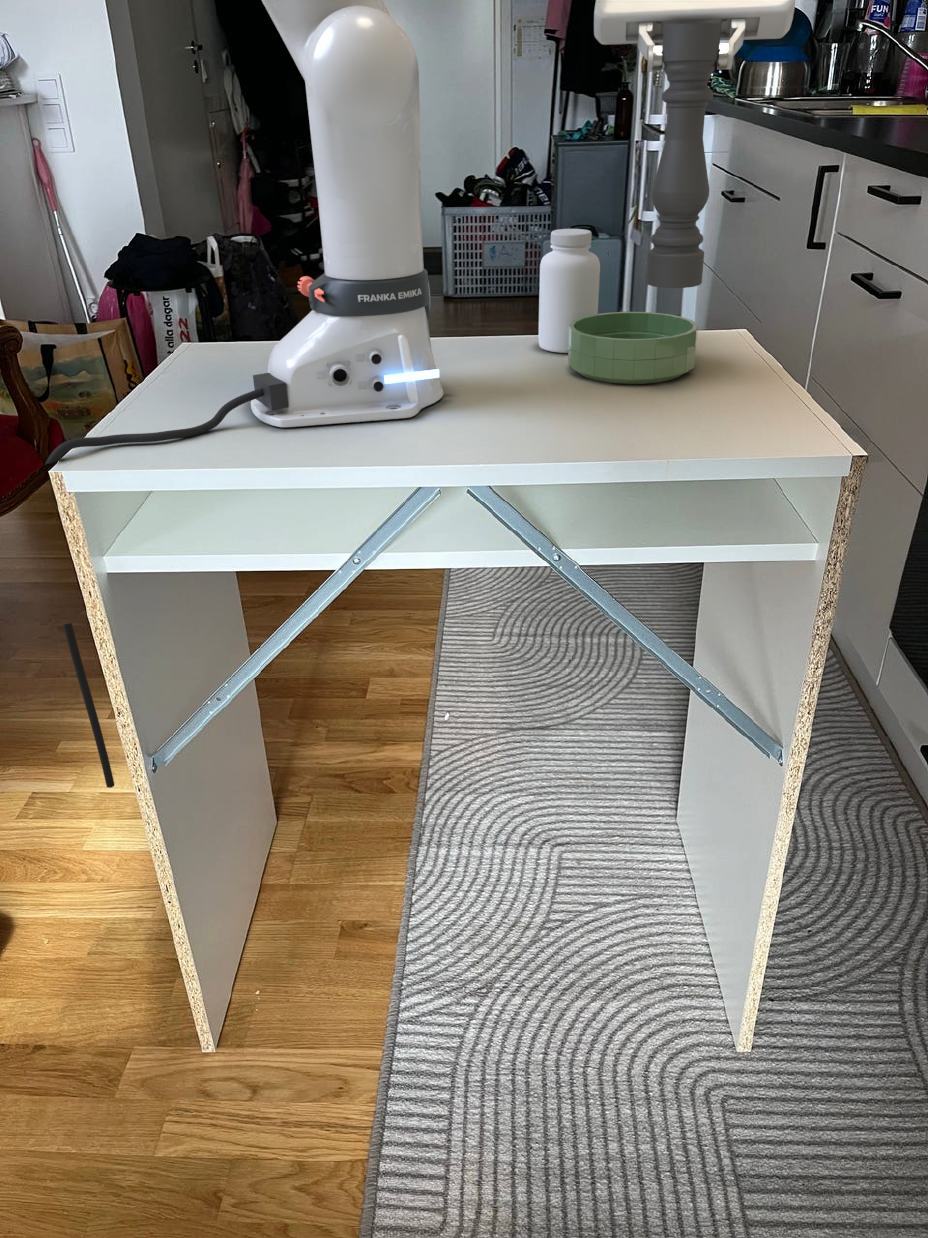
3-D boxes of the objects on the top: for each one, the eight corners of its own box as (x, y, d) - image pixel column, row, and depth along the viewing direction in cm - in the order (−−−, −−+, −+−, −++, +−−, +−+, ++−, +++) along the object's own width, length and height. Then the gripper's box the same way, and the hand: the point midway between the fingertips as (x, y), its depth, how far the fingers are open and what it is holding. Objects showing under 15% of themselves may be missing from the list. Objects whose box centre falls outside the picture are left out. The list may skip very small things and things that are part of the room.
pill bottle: (599, 353, 131) (604, 234, 123) (539, 355, 131) (541, 236, 124) (593, 339, 138) (598, 225, 130) (536, 341, 138) (537, 227, 131)
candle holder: (701, 288, 107) (724, 21, 95) (644, 287, 108) (660, 24, 96) (701, 277, 112) (723, 24, 100) (647, 277, 114) (662, 26, 101)
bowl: (604, 392, 115) (606, 345, 112) (548, 362, 127) (548, 319, 125) (718, 376, 119) (722, 330, 117) (653, 349, 132) (655, 307, 129)
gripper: (594, -64, 102) (587, 43, 98) (798, -74, 99) (798, 35, 95) (595, -10, 108) (587, 92, 104) (787, -18, 105) (786, 87, 101)
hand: (690, 65), depth 99 cm, fingers closed on candle holder, 5 cm apart
